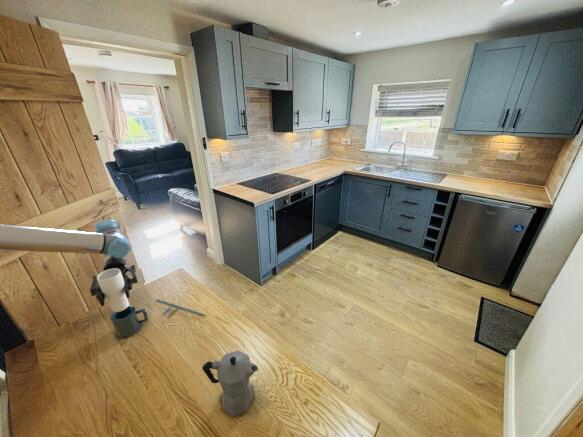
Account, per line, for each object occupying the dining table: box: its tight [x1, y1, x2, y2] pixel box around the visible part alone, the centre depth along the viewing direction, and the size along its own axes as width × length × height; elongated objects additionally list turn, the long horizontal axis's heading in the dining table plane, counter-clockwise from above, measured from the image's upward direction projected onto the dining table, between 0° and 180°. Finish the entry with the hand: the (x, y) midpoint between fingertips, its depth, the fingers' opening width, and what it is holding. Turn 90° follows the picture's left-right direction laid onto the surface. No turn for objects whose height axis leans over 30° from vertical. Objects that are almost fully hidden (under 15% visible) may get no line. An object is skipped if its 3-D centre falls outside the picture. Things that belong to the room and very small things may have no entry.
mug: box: [110, 305, 149, 339], centre depth 90 cm, size 11×8×9 cm
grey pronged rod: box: [156, 299, 204, 318], centre depth 99 cm, size 1×25×5 cm
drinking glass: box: [96, 268, 130, 313], centre depth 84 cm, size 7×7×15 cm
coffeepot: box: [202, 350, 259, 417], centre depth 67 cm, size 15×9×18 cm, turn 86°
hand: (114, 298), depth 80 cm, fingers closed on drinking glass, 6 cm apart
